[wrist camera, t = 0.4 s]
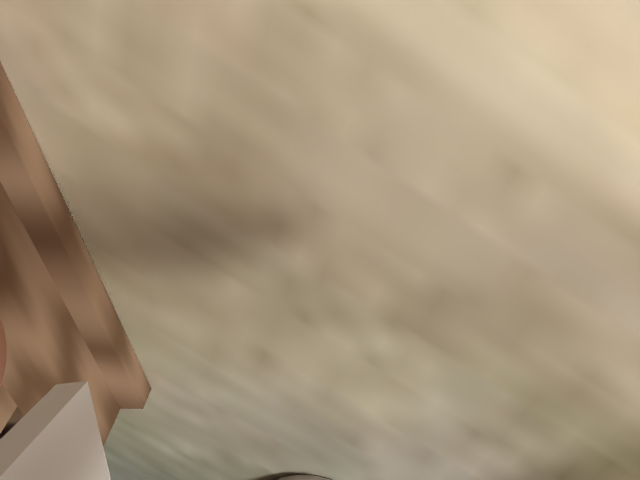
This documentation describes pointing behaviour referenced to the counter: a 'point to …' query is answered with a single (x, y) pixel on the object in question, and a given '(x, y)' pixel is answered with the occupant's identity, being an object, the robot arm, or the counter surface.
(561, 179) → the counter surface
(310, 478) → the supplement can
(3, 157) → the brown wooden rectangular frame
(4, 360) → the terracotta long rounded piece
